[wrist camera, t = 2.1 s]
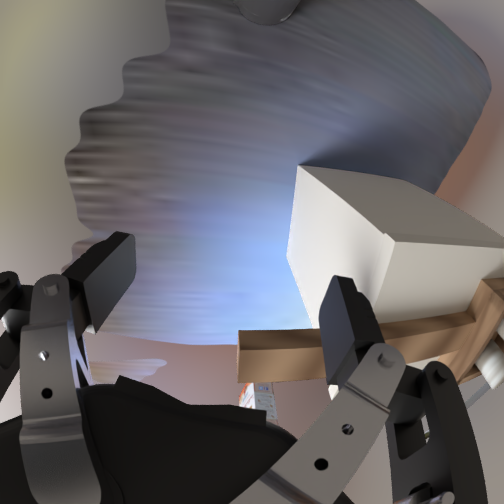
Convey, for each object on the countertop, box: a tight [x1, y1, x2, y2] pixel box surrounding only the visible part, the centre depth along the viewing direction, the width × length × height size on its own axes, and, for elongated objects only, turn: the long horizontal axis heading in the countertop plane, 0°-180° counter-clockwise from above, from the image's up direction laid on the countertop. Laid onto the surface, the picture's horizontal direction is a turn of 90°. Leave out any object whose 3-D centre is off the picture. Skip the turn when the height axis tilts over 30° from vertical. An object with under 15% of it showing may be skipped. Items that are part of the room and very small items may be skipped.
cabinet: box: [286, 165, 504, 400], centre depth 37 cm, size 24×19×32 cm
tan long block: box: [237, 277, 504, 390], centre depth 19 cm, size 34×12×8 cm, turn 86°
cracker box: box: [239, 382, 278, 425], centre depth 64 cm, size 14×6×21 cm, turn 163°
